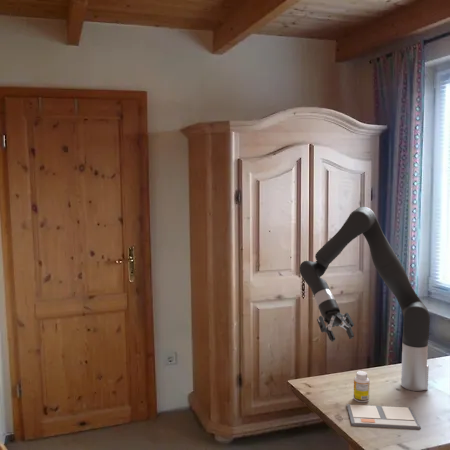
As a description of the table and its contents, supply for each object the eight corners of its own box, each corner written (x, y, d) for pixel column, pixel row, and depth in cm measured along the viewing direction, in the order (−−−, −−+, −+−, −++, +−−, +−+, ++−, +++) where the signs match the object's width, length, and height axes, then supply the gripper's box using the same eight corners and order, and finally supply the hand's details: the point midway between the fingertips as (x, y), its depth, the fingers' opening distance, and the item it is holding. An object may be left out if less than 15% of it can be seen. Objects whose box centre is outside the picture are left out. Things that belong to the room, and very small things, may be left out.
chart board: (410, 409, 178) (410, 406, 178) (420, 429, 164) (420, 425, 164) (346, 406, 181) (346, 403, 181) (351, 425, 167) (351, 422, 167)
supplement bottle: (357, 395, 190) (358, 368, 189) (371, 399, 186) (372, 372, 185) (350, 400, 186) (351, 373, 185) (365, 404, 182) (365, 377, 181)
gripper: (315, 299, 198) (331, 337, 189) (345, 296, 204) (362, 332, 195) (307, 309, 204) (323, 346, 195) (337, 306, 209) (353, 341, 200)
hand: (342, 339), depth 195 cm, fingers open, 8 cm apart
